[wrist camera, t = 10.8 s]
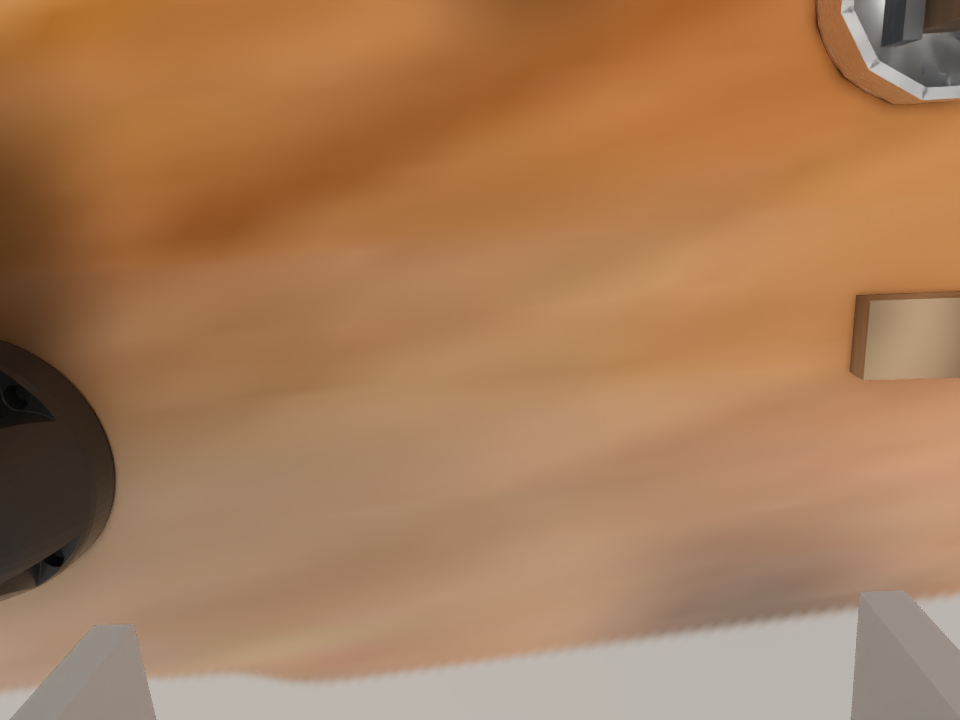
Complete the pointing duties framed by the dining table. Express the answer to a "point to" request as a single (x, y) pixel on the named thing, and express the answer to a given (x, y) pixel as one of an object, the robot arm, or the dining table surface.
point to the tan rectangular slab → (906, 336)
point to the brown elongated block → (941, 16)
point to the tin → (890, 50)
